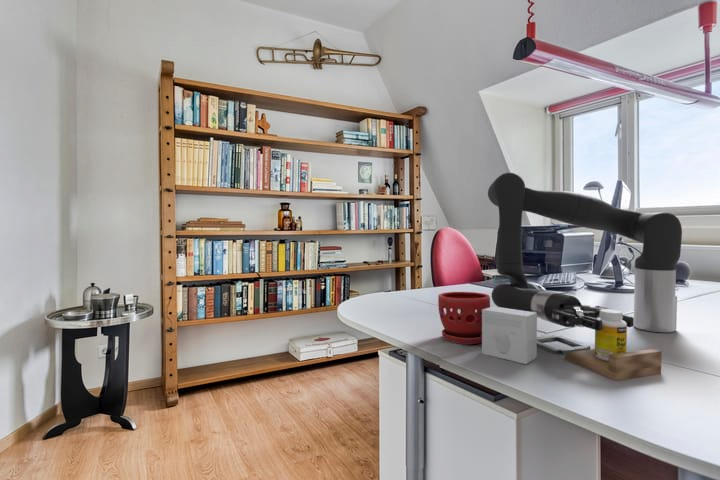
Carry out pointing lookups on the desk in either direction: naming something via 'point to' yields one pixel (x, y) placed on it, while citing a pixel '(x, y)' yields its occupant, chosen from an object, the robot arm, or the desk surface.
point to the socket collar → (563, 350)
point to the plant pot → (462, 316)
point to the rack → (619, 363)
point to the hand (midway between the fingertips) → (617, 324)
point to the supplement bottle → (610, 334)
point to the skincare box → (509, 334)
